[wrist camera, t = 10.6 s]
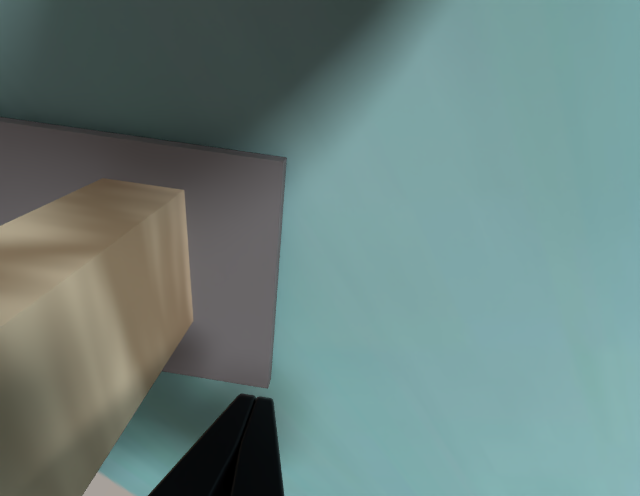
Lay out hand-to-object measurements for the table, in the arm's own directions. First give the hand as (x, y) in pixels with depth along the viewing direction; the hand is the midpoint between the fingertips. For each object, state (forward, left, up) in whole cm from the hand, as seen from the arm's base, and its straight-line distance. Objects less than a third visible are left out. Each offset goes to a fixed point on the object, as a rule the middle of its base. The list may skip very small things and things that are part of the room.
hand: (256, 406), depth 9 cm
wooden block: (+6, 0, -6) cm, 8 cm away
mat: (+9, +1, -6) cm, 11 cm away
